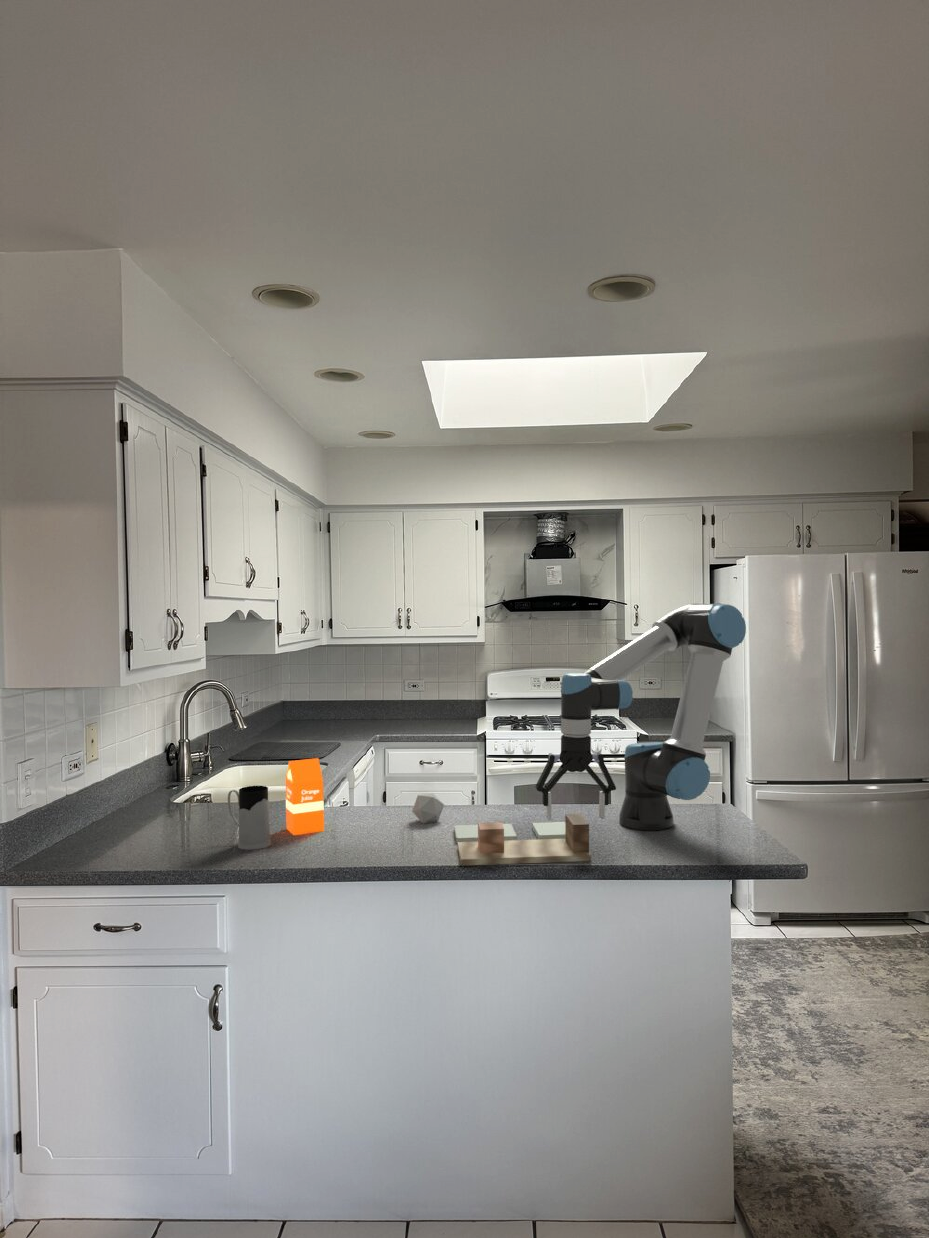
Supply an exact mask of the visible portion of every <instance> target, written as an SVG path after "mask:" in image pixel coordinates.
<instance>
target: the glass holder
mask: <svg viewBox="0 0 929 1238" xmlns="http://www.w3.org/2000/svg"><path fill="white" fill-rule="evenodd" d="M233 792H234V793H235V794H236V796H237V803H238V807H239V808H238V819H237V818H236V816H235V814H234V812H233V809H232V803H231V794H232V793H233ZM227 794H228V795H227V805H228V810H229V813H230V816H231V817H232V819H233V822H234V823H235V824H236V826H237V827H238V835H239V836H238V839H239V840H238V843H237V847H238V849H241V850H248V851H251V850H260V849H261V850H262V849H265V848H268V847H269V846H271V845H272V841H271V837H270V801H269V787H268V786H266V785H249V786H248V785H247V786H243V787H241V788H239V789H238V790H236V789H232V790H230V791H229V792H228V793H227Z"/></svg>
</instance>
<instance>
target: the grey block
mask: <svg viewBox="0 0 929 1238" xmlns="http://www.w3.org/2000/svg"><path fill="white" fill-rule="evenodd" d="M415 799H416V800H415V802H414V805H413V807H412V810H411V812H412V813H413V815H414V816H415V817H416V818H418V820H419V821H420V822H421V823H422V824H427V823H428V824H429V823H432V822H433V823H434V822H438V821H439V819H440V818H441V814H442V811H443V808H444V806H445V804H444V803H443V802H442V801H441V799H440V798H439V797H438V796H437V795H436V794H434V792H430V793H424V794H423V793H422V794H418V795H417V797H416V798H415Z"/></svg>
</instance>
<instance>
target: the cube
mask: <svg viewBox="0 0 929 1238" xmlns="http://www.w3.org/2000/svg"><path fill="white" fill-rule="evenodd" d="M502 824H503V823H502V822H501V821H499V822H497V821H496V822H493V821H492V822H477V825H478V847H479V851H480V854H482V853H504V828H503V825H502Z"/></svg>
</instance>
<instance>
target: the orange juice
mask: <svg viewBox="0 0 929 1238" xmlns="http://www.w3.org/2000/svg"><path fill="white" fill-rule="evenodd" d="M324 802H325V801H324V779H323V773H322V769H321V764H320V758H318V757H316V758H308V759H307V758H306V759H299V760H288V766H287V770H286V774H285V814H286V816H285V817H286V819H285V820H286V824H285V825H286V830H287V831H289V833H290V834H292V835H293V836H298V835H299V836H300V835H304V834H305V835H306V834H312V833H318V832H325V822H324V821H325V819H324V818H325V816H324V815H325V814H324V811H325V810H324V809H325V808H324V807H325V804H324Z"/></svg>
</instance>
